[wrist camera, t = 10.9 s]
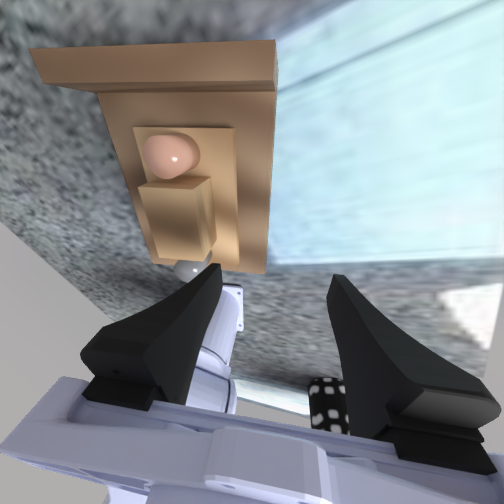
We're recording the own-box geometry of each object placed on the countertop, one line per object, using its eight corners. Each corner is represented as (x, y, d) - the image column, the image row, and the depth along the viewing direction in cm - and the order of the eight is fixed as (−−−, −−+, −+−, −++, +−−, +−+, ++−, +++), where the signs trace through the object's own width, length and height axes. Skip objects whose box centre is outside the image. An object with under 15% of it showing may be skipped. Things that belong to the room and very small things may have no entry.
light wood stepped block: (266, 264, 24) (261, 299, 19) (161, 254, 26) (131, 285, 21) (278, 69, 14) (275, 39, 9) (107, 73, 16) (28, 48, 11)
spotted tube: (352, 398, 39) (403, 597, 23) (310, 397, 42) (328, 577, 25) (351, 377, 35) (410, 600, 19) (304, 377, 38) (320, 576, 21)
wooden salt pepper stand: (239, 262, 22) (228, 294, 18) (173, 256, 23) (148, 285, 19) (235, 128, 15) (216, 128, 11) (140, 127, 16) (89, 126, 12)
